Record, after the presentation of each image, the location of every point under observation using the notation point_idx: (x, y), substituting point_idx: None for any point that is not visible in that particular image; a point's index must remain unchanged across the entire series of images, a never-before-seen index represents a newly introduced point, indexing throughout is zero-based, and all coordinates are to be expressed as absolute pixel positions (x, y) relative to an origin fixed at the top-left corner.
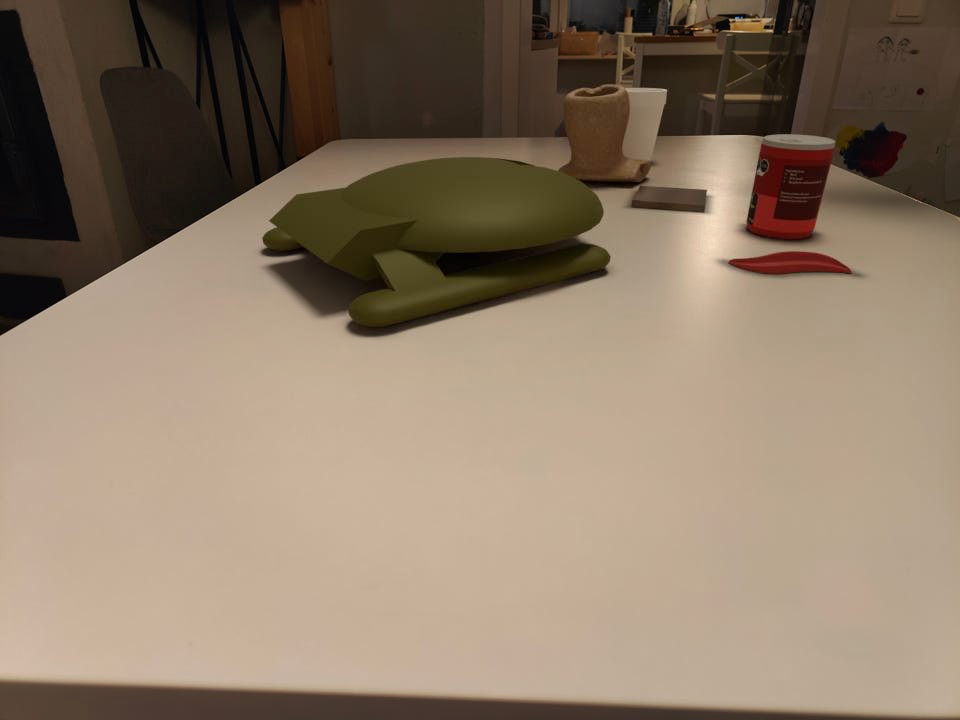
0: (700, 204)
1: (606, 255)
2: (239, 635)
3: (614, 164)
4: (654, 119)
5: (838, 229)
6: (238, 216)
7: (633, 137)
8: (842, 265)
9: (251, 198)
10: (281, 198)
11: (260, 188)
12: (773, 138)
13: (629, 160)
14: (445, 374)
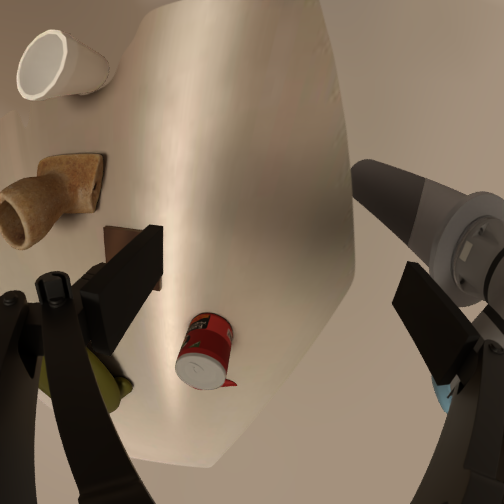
0: (156, 290)
1: (130, 390)
2: (137, 457)
3: (71, 208)
4: (76, 81)
5: (254, 321)
6: None
7: (70, 94)
8: (232, 385)
9: None
10: None
11: None
12: (183, 363)
13: (79, 193)
14: (123, 427)
